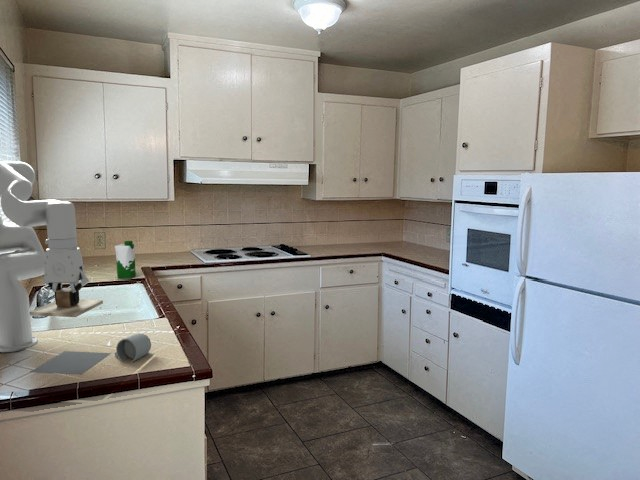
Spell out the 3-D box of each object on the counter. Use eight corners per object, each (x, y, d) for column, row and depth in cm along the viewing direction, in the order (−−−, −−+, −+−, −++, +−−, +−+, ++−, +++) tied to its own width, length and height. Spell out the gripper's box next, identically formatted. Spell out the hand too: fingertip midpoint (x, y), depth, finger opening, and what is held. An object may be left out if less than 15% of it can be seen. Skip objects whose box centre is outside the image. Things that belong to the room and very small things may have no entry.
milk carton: (131, 279, 256) (129, 242, 253) (114, 279, 256) (112, 242, 253) (138, 275, 264) (136, 240, 261) (122, 275, 265) (119, 239, 262)
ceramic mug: (153, 354, 153) (152, 331, 152) (137, 364, 145) (135, 340, 144) (126, 351, 156) (124, 329, 155) (108, 361, 148) (106, 337, 147)
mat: (29, 373, 139) (29, 371, 139) (64, 352, 154) (64, 351, 154) (81, 376, 137) (81, 374, 137) (111, 354, 153) (111, 353, 153)
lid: (29, 315, 137) (28, 295, 136) (61, 301, 151) (59, 283, 150) (75, 317, 136) (74, 296, 135) (102, 303, 149) (101, 284, 148)
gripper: (27, 245, 137) (32, 306, 140) (82, 246, 136) (86, 308, 138) (45, 241, 145) (49, 299, 147) (97, 242, 143) (101, 301, 146)
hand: (67, 303), depth 143 cm, fingers closed on lid, 4 cm apart
